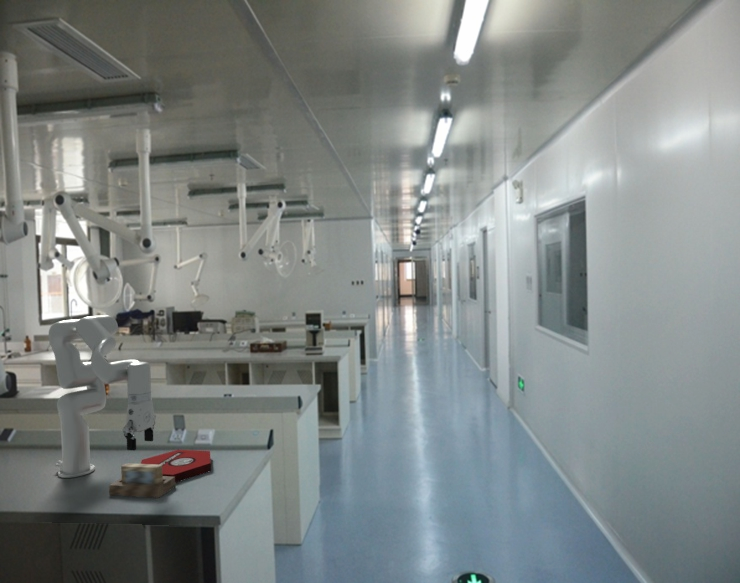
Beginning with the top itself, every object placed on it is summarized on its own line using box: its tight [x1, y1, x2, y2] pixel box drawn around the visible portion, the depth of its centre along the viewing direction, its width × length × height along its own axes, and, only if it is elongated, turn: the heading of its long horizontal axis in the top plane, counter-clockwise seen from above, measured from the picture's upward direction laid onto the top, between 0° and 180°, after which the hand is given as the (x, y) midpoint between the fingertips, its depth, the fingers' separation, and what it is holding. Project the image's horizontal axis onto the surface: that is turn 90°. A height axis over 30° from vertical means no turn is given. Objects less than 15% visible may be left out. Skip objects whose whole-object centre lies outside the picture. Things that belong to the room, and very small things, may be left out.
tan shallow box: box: [108, 476, 176, 499], centre depth 182 cm, size 19×10×4 cm, turn 79°
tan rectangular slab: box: [120, 462, 163, 484], centre depth 182 cm, size 14×3×8 cm, turn 79°
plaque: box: [140, 449, 212, 483], centre depth 203 cm, size 27×4×30 cm
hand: (140, 445), depth 182 cm, fingers open, 9 cm apart
